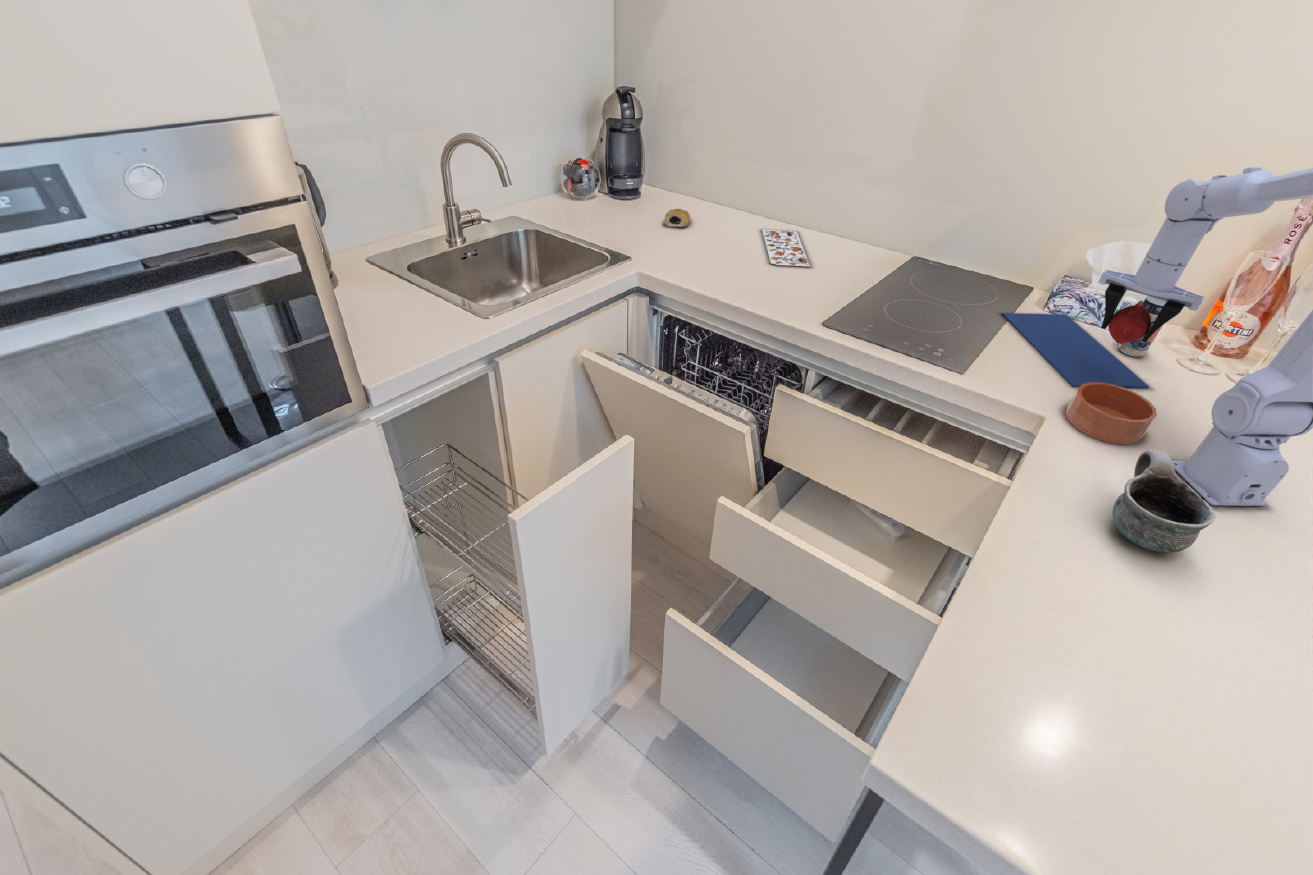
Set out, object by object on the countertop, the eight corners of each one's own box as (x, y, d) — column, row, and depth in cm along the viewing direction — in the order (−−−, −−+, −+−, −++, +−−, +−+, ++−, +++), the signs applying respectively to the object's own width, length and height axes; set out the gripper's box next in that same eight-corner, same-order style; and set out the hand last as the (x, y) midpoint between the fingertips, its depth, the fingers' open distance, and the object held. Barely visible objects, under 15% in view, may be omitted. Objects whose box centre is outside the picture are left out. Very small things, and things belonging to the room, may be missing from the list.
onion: (1143, 353, 107) (1168, 311, 102) (1107, 349, 108) (1130, 307, 103) (1130, 337, 112) (1153, 296, 107) (1095, 333, 113) (1117, 292, 108)
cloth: (1148, 388, 112) (1149, 386, 112) (1072, 386, 112) (1073, 384, 112) (1065, 316, 134) (1066, 314, 134) (1002, 314, 134) (1002, 313, 134)
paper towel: (810, 266, 150) (771, 264, 150) (809, 266, 150) (771, 264, 150) (796, 230, 169) (762, 229, 169) (796, 231, 169) (762, 229, 169)
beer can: (1117, 354, 122) (1149, 297, 115) (1116, 343, 125) (1147, 288, 118) (1145, 360, 120) (1180, 303, 113) (1143, 350, 124) (1177, 294, 116)
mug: (1125, 563, 79) (1168, 506, 73) (1075, 495, 89) (1109, 440, 83) (1200, 566, 79) (1250, 510, 73) (1142, 498, 89) (1181, 443, 83)
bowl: (1158, 445, 99) (1173, 422, 96) (1088, 443, 99) (1102, 421, 96) (1116, 404, 108) (1129, 382, 105) (1052, 403, 107) (1063, 381, 105)
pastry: (670, 215, 176) (671, 201, 174) (693, 218, 175) (695, 204, 173) (662, 226, 169) (663, 212, 167) (686, 229, 168) (687, 215, 165)
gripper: (1224, 265, 99) (1177, 340, 107) (1123, 240, 107) (1086, 312, 115) (1217, 278, 95) (1168, 355, 103) (1112, 250, 102) (1074, 324, 111)
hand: (1124, 333), depth 109 cm, fingers closed on onion, 6 cm apart
